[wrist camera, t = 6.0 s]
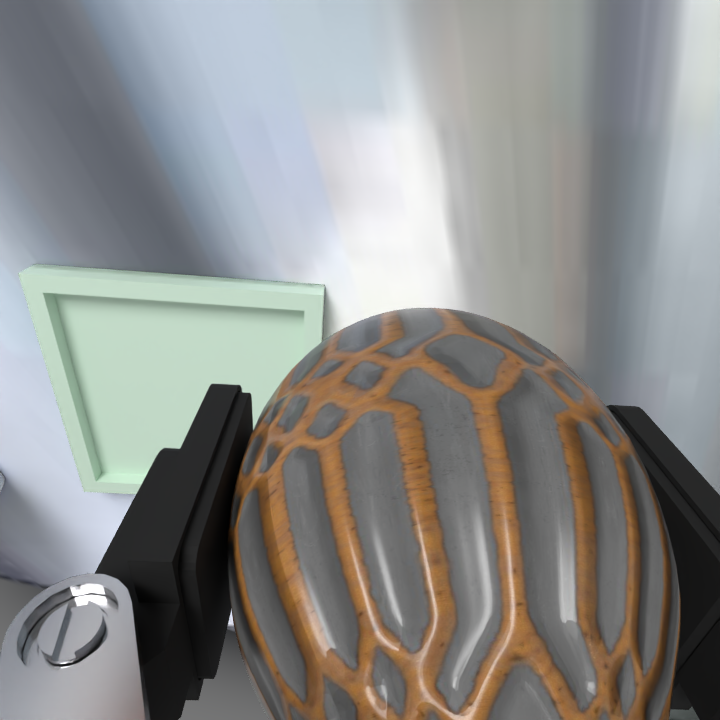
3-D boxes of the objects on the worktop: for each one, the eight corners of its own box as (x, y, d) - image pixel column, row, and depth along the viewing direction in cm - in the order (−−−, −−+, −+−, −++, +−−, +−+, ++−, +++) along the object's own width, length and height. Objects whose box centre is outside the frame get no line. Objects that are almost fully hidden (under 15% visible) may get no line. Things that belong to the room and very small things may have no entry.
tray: (324, 284, 27) (323, 295, 25) (315, 487, 35) (313, 502, 34) (34, 263, 26) (18, 273, 25) (94, 476, 34) (84, 491, 33)
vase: (419, 532, 14) (499, 1063, 6) (213, 418, 12) (-38, 1027, 4) (611, 377, 11) (1143, 971, 4) (393, 191, 9) (613, 734, 1)
